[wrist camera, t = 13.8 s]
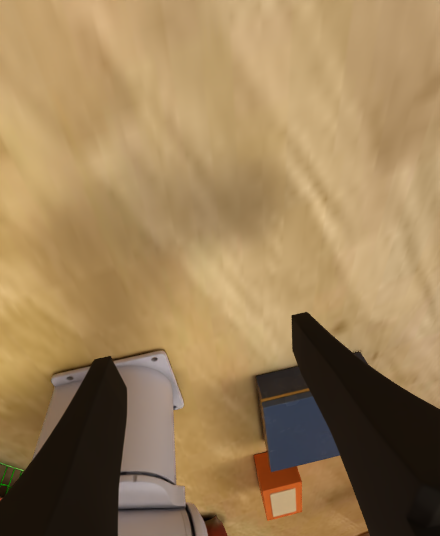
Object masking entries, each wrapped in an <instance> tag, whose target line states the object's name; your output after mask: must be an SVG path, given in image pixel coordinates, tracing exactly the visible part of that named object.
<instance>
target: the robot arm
mask: <svg viewBox="0 0 440 536" xmlns="http://www.w3.org/2000/svg"><path fill="white" fill-rule="evenodd" d="M292 349H293V353H294V356H295V358H296V361H297V364H298V366H299V369H300V372H301V374H302V376H303V378H304V380H305V382H306V384H307V386H308V388H309V390H310V392H311V394H312V396H313V398H314V400H315V402H316V404H317V406H318V408H319V410H320V412H321V414H322V416H323V418H324V420H325V421H326V423H327V425H328V428H329V430H330V432H331V434H332V436H333V439H334V441H335V444H336V446H337V449H338V451H339V454H340V456H341V459H342V461H343V464H344V466H345V469H346V471H347V474H348V477H349V479H350V482H351V484H352V487H353V490H354V492H355V495H356V498H357V500H358V503H359V506H360V509H361V511H362V514H363V517H364V519H365V522H366V525H367V528H368V531H369V534H370V536H440V409H438V408H436V407H435V406H433V405H431V404H429V403H427V402H426V401H424V400H422V399H420V398H418V397H417V396H415V395H413V394H411V393H410V392H408V391H407V390H405V389H403V388H402V387H400V386H399V385H397V384H395V383H394V382H392V381H391V380H389V379H388V378H386V377H385V376H383V375H382V374H380V373H379V372H378V371H376V370H375V369H373V368H372V367H371V366H369V365H368V364H367V363H365V362H364V361H363V360H361V359H360V358H359V357H357V356H356V355H355V354H354V353H352V352H351V351H350V350H349V349H348V348H346V347H345V346H344V345H343V344H342V343H340V342H339V341H338V340H337V339H336V338H335V337H333V336H332V335H331V334H330V333H329V332H328V331H327V330H326V329H325V328H323V327H322V326H321V325H320V324H319V323H318V322H317V321H316V320H315V319H314V318H313V317H312V316H311V315H310V314H309V313H307V312H305V313H300V314H296V315H292ZM153 357H156V358H153ZM51 382H52V384H53V385H54V386H55V388H54V391H53V394H52V397H51V401H50V404H49V407H48V410H47V413H46V417H45V420H44V423H43V426H42V429H41V432H40V436H39V439H38V442H37V445H36V448H35V452H34V455H33V459H32V462H31V463H30V464H29V466H28V467H27V468H26V470H25V471H24V472H23V473H22V475H21V476H20V477H19V479H18V480H17V481H16V482H15V484H14V485H13V486H12V487H11V488H10V490H9V491H8V492H7V493H6V495H5V496H4V497H3V498H2V499H1V501H0V536H208V533H207V529H206V525H205V523H204V520H203V518H202V516H201V515H200V513H199V511H198V509H197V508H196V506H195V505H194V504H192V503H186V502H185V487H184V486H178V485H176V465H175V441H174V416H173V410H177V409H180V408H182V407H183V406H184V401H183V398H182V396H181V393H180V390H179V387H178V385H177V382H176V379H175V376H174V374H173V371H172V368H171V365H170V363H169V360H168V357H167V354H166V353H165V352H164V351H156V352H151V353H147V354H143V355H138V356H134V357H129V358H125V359H120V360H116V361H113V360H112V358H111V356H108V357H104V358H99V359H95V360H94V361H93V363H92V365H91V366H89V367H85V368H80V369H76V370H71V371H67V372H62V373H58V374H55V375H53V376H52V379H51Z"/></svg>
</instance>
